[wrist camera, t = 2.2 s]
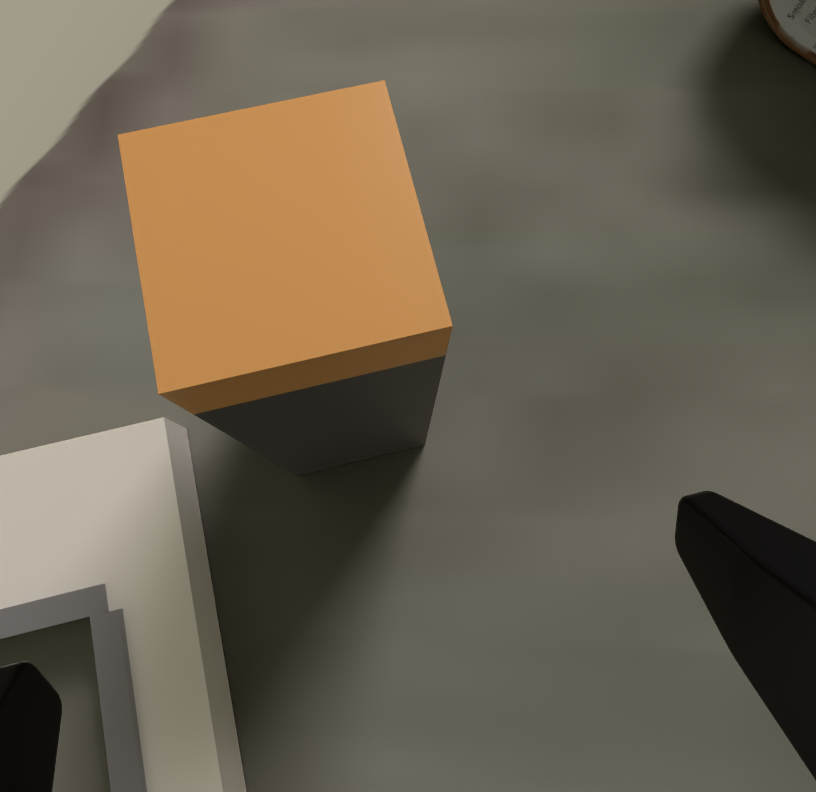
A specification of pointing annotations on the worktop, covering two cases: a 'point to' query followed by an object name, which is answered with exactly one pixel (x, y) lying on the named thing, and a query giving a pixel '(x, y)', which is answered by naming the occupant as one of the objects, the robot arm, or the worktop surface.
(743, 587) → the robot arm
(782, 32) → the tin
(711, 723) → the worktop surface
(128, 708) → the socket plate
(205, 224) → the plug
